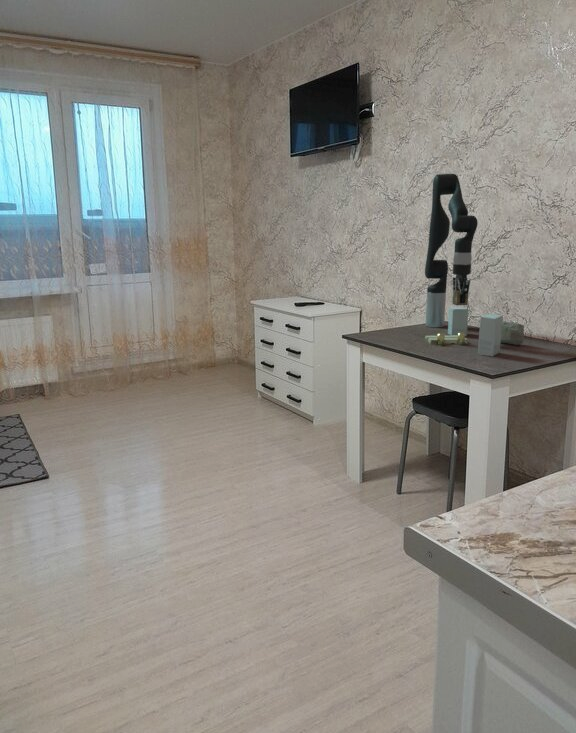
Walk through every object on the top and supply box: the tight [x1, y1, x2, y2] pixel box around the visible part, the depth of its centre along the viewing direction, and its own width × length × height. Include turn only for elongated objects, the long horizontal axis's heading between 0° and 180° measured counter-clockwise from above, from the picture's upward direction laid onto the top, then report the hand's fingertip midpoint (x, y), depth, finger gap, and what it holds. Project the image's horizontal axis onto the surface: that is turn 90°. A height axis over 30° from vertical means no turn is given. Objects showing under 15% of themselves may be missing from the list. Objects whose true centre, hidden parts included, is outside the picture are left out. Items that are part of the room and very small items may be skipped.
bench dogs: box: [436, 332, 466, 346], centre depth 258 cm, size 3×12×5 cm, turn 95°
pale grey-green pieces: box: [424, 334, 469, 345], centre depth 265 cm, size 10×16×2 cm, turn 92°
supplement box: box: [447, 306, 469, 337], centre depth 280 cm, size 7×7×13 cm
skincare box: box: [477, 313, 504, 357], centre depth 239 cm, size 8×7×16 cm
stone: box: [500, 320, 525, 346], centre depth 257 cm, size 14×6×10 cm, turn 30°
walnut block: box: [451, 289, 469, 306], centre depth 262 cm, size 5×5×6 cm
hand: (460, 302), depth 262 cm, fingers closed on walnut block, 5 cm apart
